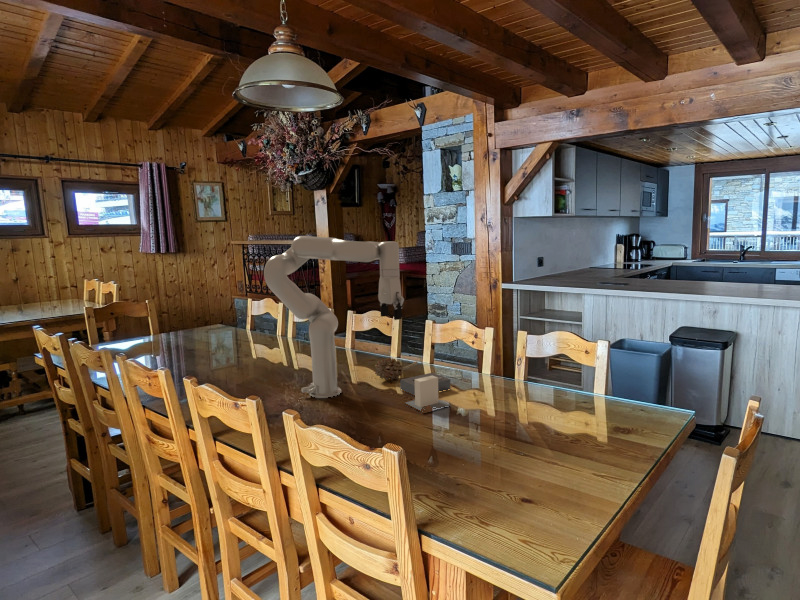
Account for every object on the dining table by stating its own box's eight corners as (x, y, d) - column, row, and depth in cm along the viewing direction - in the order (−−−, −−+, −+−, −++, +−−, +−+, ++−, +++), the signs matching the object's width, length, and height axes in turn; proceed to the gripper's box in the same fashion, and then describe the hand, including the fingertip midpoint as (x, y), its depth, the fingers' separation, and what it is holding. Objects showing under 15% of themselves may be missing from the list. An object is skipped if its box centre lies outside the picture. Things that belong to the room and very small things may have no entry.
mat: (423, 414, 174) (423, 412, 174) (404, 404, 184) (404, 402, 184) (450, 406, 181) (450, 404, 181) (430, 398, 191) (430, 396, 191)
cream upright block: (420, 407, 179) (420, 381, 178) (415, 404, 182) (414, 379, 181) (438, 402, 183) (438, 377, 182) (432, 400, 186) (432, 375, 185)
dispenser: (417, 398, 191) (417, 385, 191) (400, 390, 201) (400, 378, 201) (450, 390, 200) (450, 377, 199) (432, 383, 210) (432, 371, 209)
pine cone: (383, 386, 208) (382, 362, 206) (370, 381, 215) (369, 358, 214) (423, 375, 221) (422, 353, 220) (409, 371, 229) (408, 350, 227)
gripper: (370, 273, 197) (371, 316, 199) (393, 275, 183) (394, 322, 185) (386, 271, 201) (387, 314, 203) (410, 274, 187) (411, 319, 189)
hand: (391, 317), depth 194 cm, fingers open, 9 cm apart
